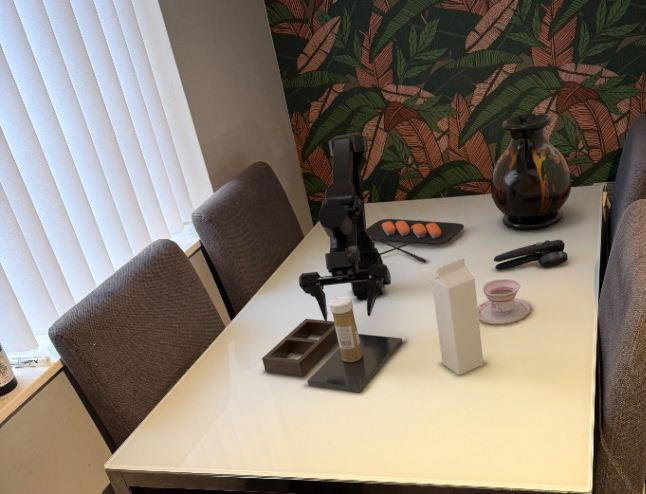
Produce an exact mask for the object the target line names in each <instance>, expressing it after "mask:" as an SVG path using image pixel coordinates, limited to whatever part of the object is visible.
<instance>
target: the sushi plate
mask: <svg viewBox="0 0 646 494" xmlns="http://www.w3.org/2000/svg"><path fill="white" fill-rule="evenodd" d="M366 228H367V233H368V235H369V236H370V238H371V239H372V240H373V241H378V242H380V243H382V244H385V245H387V246H388V247H391V248H390V249H387V250H385V251H382V252H379V253H380V255H381V256H382V255H385V254H387V253H390V252H393V251H399V252H402V253H404V254H405V255H408V256H410V257H412V258H414V259H416V260H418V261H420V262H423V263H427V260H426V259H425V258H423V257H420V256H418V255H416V254H414V253H412V252H409V251H406V250H404V249H402V248H403V247H406V246H409V245H412V244H417V245H430V246H431V245H432V246H437V245H443V244H446V243H448V242H450V241H451V240H452V239H454V238H455V237H456V236H457V235H459V234H460V232H462V230H464V229H465V225H464V224H462V223H458V222H447V221H445V222H444V221H430V220H415V219H414V220H413V219H399V218H384V219H380V220H378V221H376V222H374V223H373V224H371V225H370V226H368V227H366ZM389 242H391V243H392V242H395V243H404V244H402V245H399V246H395V245H393V244H391V243H389Z"/></svg>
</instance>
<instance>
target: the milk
mask: <svg viewBox="0 0 646 494" xmlns="http://www.w3.org/2000/svg"><path fill="white" fill-rule="evenodd" d="M430 281H431V288H432V294H433V302H434V310H435V316H436V324H437V332H438V340H439V347H440V353H441V360H442V365H443V366H445V367H447V368H448V369H449V370H451V371H453V372H454V373H455V374H457V375H458V376H461V375H462V374H465V373H467V372H469V371H472V370H474V369H476V368H479V367H481V366H483V365H484V356H483V346H482V335H481V327H480V320H479V316H478V307H479V306H478V298H477V288H476V279H475V277H474V275H473V274H472V273H471V271H470V270H469V269H468V268H467V266H466V262H465V259H464V258H460V259H457V260H455V261H452V262H450V263H447V264H444V265H442V266H440V267H438V268H437V276H435V277H433V278H431V280H430Z"/></svg>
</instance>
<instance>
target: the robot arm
mask: <svg viewBox="0 0 646 494" xmlns="http://www.w3.org/2000/svg"><path fill="white" fill-rule="evenodd" d="M328 145H329V146H328V147H329V152H330V153H329V154H330V157H332V171H331V172H332V175H331V184H329V185H328V187H326V189H325V194H324V195H325V196H324V199H323V200H322V202H321V206H320V210H319V212H318V215H317V217H318V221H319V223H320V225H321V227H322V228H323V230H324V232H325V234H326V235H327V237H328V238H329V252H327V253H324V259H325V266H326V267H325V268H326V270H327V272H328V273H329V274H331V275H325V276H324V275H323V276H321V275H320V274H319V272H318V271H312V272H311V271H310V272H302V273H300V275H299V278H298V285H299V287H300V289H302V291H303V292H304V293H305V294H307V295H310V296H311V297H313V298H315V300H316V302H317V304H318V307H319V310H320V312H321V316H322V318H323V320H325V321H328V309H327V308H328V307H327V297H326V293H325V291H324V290H325V287H326V286H335V285H342V284H350V286H351V291H352V293H353V294H352V295H353V297H356V299H357V301H364V300H366V313H367V316H368V317H371V315H372V312H373V310H374V306H375V303H376V301H377V299H378V297H379V296H383V295H384V291H383V290H385V289H386V286H389V285H391V284H392V276H391V272H390V269H389V268H388V266H387V265H386V264H385V263H384V262H383V259H382V255H380V253H381V252H379V250H378V248H377V247H376V244H375V242H374V240H372V239H371V238H370V236H369V235H368V233H367V228H368V227H367V219H366V218H367V217H366V209H365V207H366V206H365V200H364V199H365V198H364V186H363V177H362V171H363V169H364V167H365V166H366V163H367V161H368V160H367V153H368V152H369V143H368V139H367V136H366V135H362V133H361V132H353V133H346V134H340V135H335V137H333V138H331V139H330V140H328Z"/></svg>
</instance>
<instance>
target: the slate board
mask: <svg viewBox="0 0 646 494" xmlns="http://www.w3.org/2000/svg"><path fill="white" fill-rule="evenodd" d="M358 335H359V340H360V346H361V351H362V353H363V356H362V358H361V359H360V360H358V361H355V362H345V361H343V360H342V354H341V350H340V347H339V348H338V349H337V350H336V351H335V352H334V353H333V354H332V355H331V356H330V357H329V358H328V359H327V360H326V361H325V362H324V363H323V364H322V365H321V367H319V368H318V369H317V370H316V372H315V373H313V374H312V376H310V378H308V380H307V384H308V386H310V387H316V388H323V389H324V388H325V389H331V390H340V391H346V392H353V393H361V392H362V391H363V389H364V388H365V387H366V386H367V384H369V382H370V381H371V380H372V379H373V378H374V377H375V376H376V374H377V373H378V372H379V371H380V370H381V369H382V368H383V366H385V364H386V363H387V362H388V361H389V360H390V358H392V356H393V355H394V354H395V352H396V351H397V350H398V349H399V348H400V347H401V346H402V345H403V343H404V342H403V338H402V337H393V336H384V335H383V336H382V335H372V334H362V333H358Z"/></svg>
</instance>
